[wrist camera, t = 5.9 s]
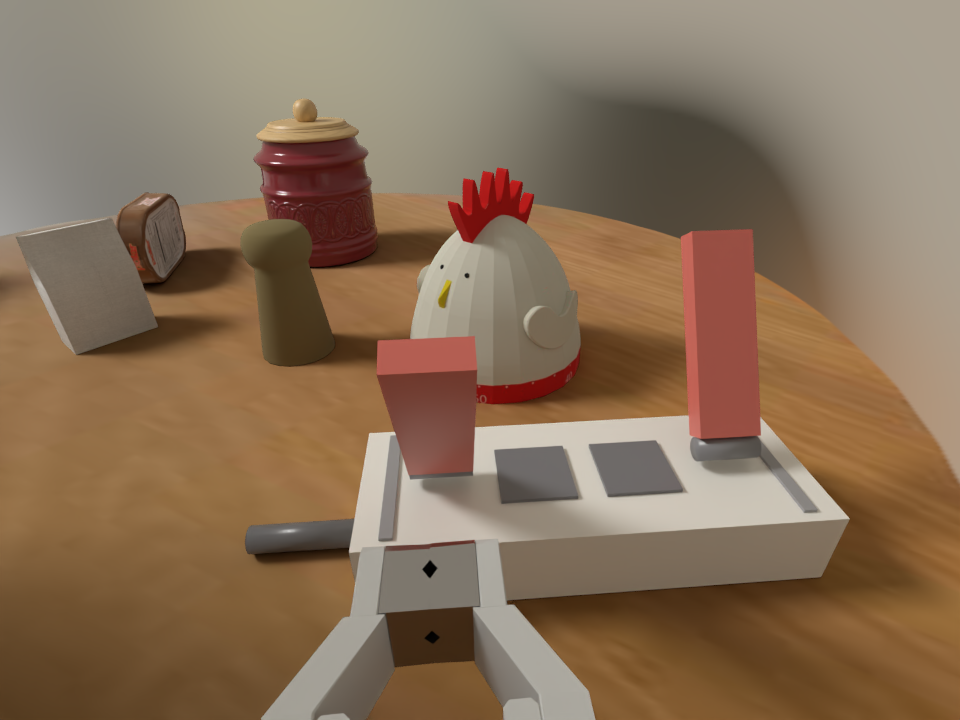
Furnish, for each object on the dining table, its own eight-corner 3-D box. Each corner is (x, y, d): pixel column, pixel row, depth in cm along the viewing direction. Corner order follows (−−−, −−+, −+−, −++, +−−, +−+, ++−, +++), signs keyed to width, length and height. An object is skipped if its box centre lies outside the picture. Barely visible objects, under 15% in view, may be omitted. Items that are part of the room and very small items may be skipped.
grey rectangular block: (158, 327, 50) (119, 221, 45) (76, 355, 45) (22, 242, 40) (142, 316, 52) (103, 214, 47) (62, 342, 47) (10, 233, 42)
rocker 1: (411, 482, 25) (376, 375, 16) (410, 458, 26) (377, 340, 16) (473, 479, 26) (477, 369, 16) (471, 455, 26) (474, 336, 16)
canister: (391, 237, 72) (376, 93, 63) (361, 271, 61) (337, 103, 52) (301, 234, 74) (274, 94, 65) (256, 267, 63) (216, 104, 54)
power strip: (227, 621, 24) (201, 559, 22) (274, 493, 31) (257, 436, 29) (821, 577, 25) (851, 515, 23) (739, 464, 32) (756, 408, 30)
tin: (170, 251, 69) (148, 185, 64) (196, 249, 69) (176, 183, 65) (131, 297, 56) (100, 218, 52) (163, 294, 57) (135, 215, 52)
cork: (346, 351, 45) (325, 224, 39) (276, 374, 42) (242, 240, 36) (319, 326, 49) (296, 207, 44) (253, 345, 46) (220, 221, 41)
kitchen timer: (378, 359, 44) (353, 172, 36) (489, 307, 53) (488, 147, 45) (503, 429, 36) (505, 206, 28) (611, 353, 44) (635, 167, 37)
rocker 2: (701, 463, 25) (692, 231, 25) (690, 458, 27) (681, 236, 26) (762, 460, 26) (752, 229, 25) (748, 455, 27) (738, 234, 27)
